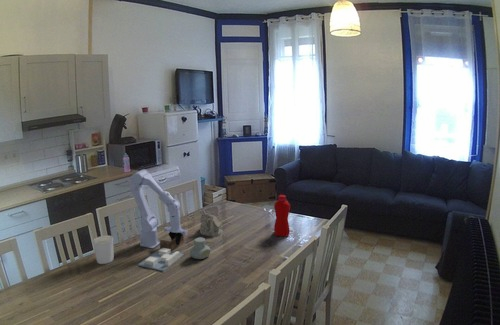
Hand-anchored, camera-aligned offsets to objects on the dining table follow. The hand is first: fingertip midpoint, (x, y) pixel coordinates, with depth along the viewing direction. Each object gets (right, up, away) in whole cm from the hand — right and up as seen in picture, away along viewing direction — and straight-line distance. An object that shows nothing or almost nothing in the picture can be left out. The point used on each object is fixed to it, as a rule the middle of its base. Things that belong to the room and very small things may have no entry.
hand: (176, 244), depth 194 cm
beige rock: (+18, +3, +21) cm, 28 cm away
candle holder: (-35, -5, -15) cm, 38 cm away
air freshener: (+15, -4, -12) cm, 20 cm away
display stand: (-4, -5, -15) cm, 17 cm away
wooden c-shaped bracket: (-3, -1, +1) cm, 3 cm away
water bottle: (+63, +2, +16) cm, 65 cm away
